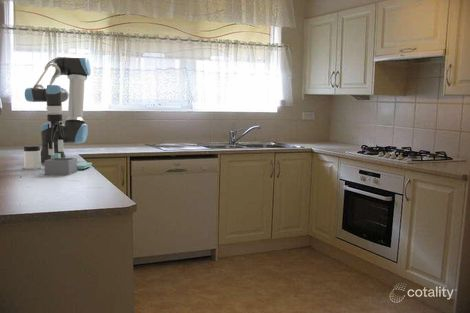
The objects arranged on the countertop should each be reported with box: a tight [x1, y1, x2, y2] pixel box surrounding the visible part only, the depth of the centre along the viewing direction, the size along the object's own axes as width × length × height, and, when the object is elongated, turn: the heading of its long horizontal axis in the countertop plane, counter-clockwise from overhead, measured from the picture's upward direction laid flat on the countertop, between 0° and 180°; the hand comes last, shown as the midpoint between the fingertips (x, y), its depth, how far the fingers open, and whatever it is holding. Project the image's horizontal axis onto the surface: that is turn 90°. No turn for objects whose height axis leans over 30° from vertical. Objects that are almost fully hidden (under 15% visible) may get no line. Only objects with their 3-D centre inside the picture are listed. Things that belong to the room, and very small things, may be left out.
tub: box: [43, 157, 78, 176], centre depth 252 cm, size 12×12×7 cm
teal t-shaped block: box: [51, 153, 93, 171], centre depth 269 cm, size 13×20×8 cm, turn 88°
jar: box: [22, 144, 42, 170], centre depth 269 cm, size 9×8×12 cm
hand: (56, 153), depth 269 cm, fingers open, 13 cm apart
